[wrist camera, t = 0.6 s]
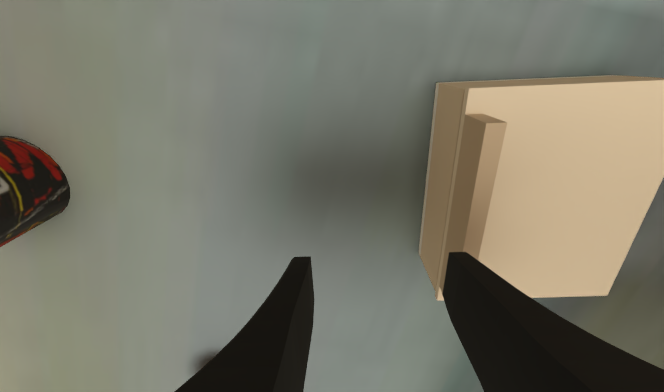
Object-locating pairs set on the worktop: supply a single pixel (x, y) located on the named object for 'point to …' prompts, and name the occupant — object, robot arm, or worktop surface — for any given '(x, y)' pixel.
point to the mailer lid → (554, 182)
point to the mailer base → (445, 149)
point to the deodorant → (28, 188)
